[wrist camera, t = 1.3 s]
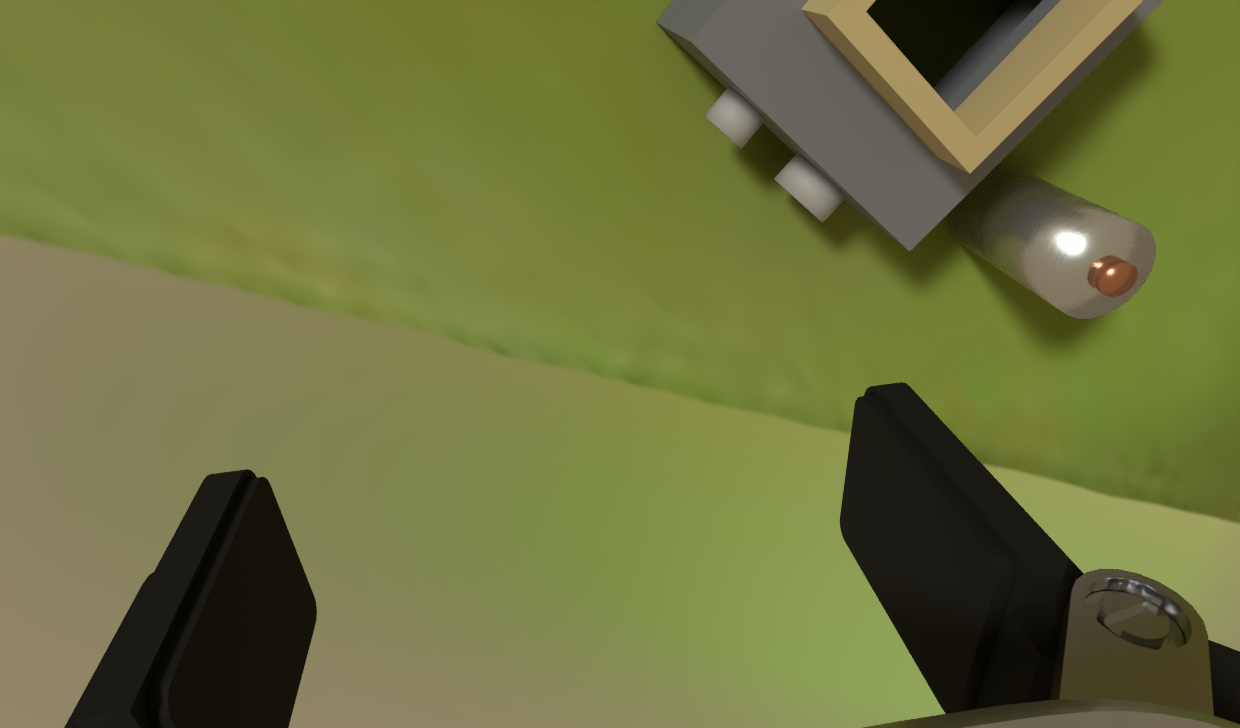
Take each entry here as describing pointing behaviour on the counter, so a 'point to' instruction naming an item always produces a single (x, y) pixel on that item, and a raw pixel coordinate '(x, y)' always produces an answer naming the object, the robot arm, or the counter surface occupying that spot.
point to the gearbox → (890, 95)
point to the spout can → (1054, 242)
